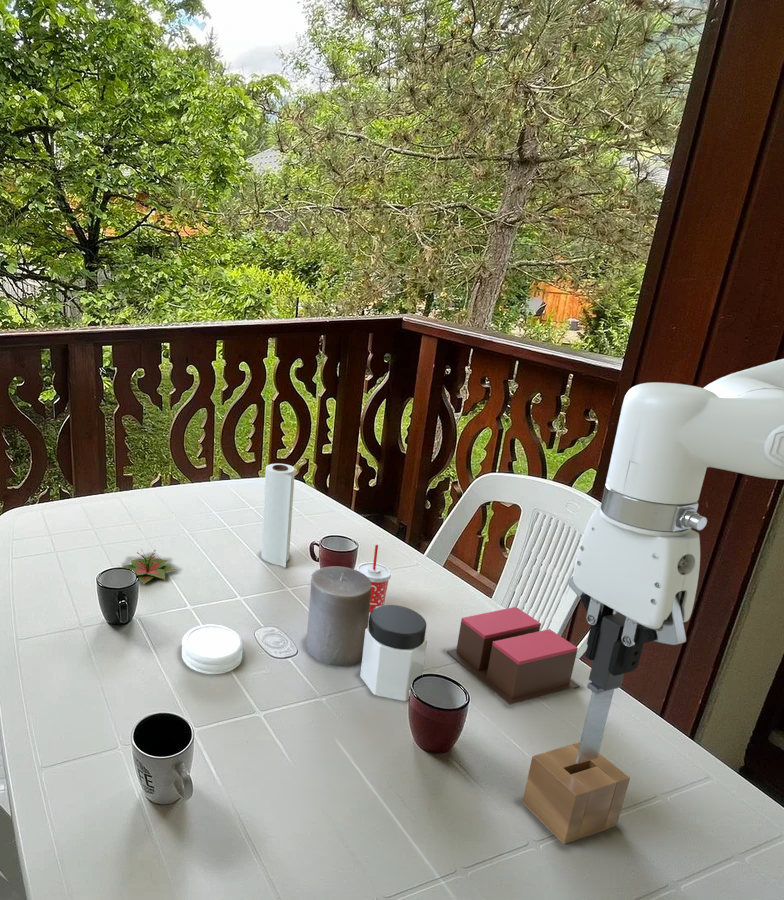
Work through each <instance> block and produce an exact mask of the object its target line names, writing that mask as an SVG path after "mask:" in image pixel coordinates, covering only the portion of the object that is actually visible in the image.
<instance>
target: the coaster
mask: <svg viewBox="0 0 784 900" xmlns="http://www.w3.org/2000/svg"><path fill="white" fill-rule="evenodd" d="M243 648H244V644H243V640H242V637H241V636H240V635H239V634H238V633H237V632H236V631H235V630H233V629H231V628H229V627H227V626H224V625H220V624H203V625H198V626H196V627H193V628H191V629H190V630H188V631H187V632H186V633H185V634H184V635H183V637H182V640H181V657H182V661H183V663H184V664H185V665H186V666H187V667H189V668H190V669H191V670H193V671H195V672H198V673H201V674H207V675H220V674H226V673H228V672H231V671H233V670H234V669H236V668H237V667H239V666H240V664H241V663H242V661H243V654H244V653H243V651H244V650H243Z"/></svg>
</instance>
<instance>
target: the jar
mask: <svg viewBox="0 0 784 900" xmlns="http://www.w3.org/2000/svg"><path fill="white" fill-rule="evenodd" d="M426 632H427V621H426V619H425V618H424V617H423V616H422V615H421V614H420V613H419V612H417V611H415V610H414V609H412V608H408V607H406V606H403V605H398V604H397V605H396V604H384V605H383V606H379V607H376V608H374V609H373V610H372V611H371V613H370V616H369V618H368V627H367V628H366V629H365V637H364V646H363V655H362V660H361V664H360V665H361V666H360V674H359V677H360V678H361V679H362V681H363V682H364V684H365V685H366V686H367V687H368V689H369V690H370V691H371V693H372V694H373V695H374V696H378V697H382V698H388V699H392V700H398V701H403V702H406V701H408V700H409V699H410V698H409V690H410V685H411V683H412V681H413V680H414V679H415V678H416V677H418V676H420V675H422V676H423V673H424V667H425V661H426V660H425V659H426V653H427V645H428V638H426Z"/></svg>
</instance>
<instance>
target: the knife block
mask: <svg viewBox="0 0 784 900" xmlns="http://www.w3.org/2000/svg"><path fill="white" fill-rule="evenodd" d="M579 746H580V741H578V742H575V743H571V744H569V745H565V746H561V747H559V748H555V749H552V750H549V751H545V752H542V753H538V754H535V755H532V757H531V761H530V766H529V770H528V775H527V779H526V784H525V787H524V788H525V789H524V792H523V797H522V804H523V805H524V806H525V807H526V808H527V809H528V810H529V811H530V812H531V813H532V814H533V815H534V816H535V817H536V818H537V819H538V820H539V822H541V824H543V825H544V826H545V827H546V828H547V829H548V830H549V831H550V832H551V833H552V834H553V835H554V836H555V837H556V838H557V839H558V840H559V842H561V843H562V845H566V844H569V843H571V842H575V841H578V840H580V839H584V838H586V837H589V836H592V835H595V834H598V833H601V832H603V831H606V830H608V829H611V828H614V827H617V826H618V823H619V819H620V815H621V811H622V809H623V805H624V801H625V797H626V793H627V790H628V787H629V783H630V781H631V778H630V777H629V776H628V775H627V774H625V772H623V771H622V770H621V769H620V768H618V767H617V766H616V765H615V764H613V763H612V762H611V761H610V760H608V759H607V758H606V757H604V755H602V754H601V753H600V752H599V754H598V758H595V759H592V760H589V761H586V762H583V763H580V764H577V763H576V759H577V754H578V750H579Z"/></svg>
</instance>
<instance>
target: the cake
mask: <svg viewBox="0 0 784 900" xmlns="http://www.w3.org/2000/svg"><path fill="white" fill-rule="evenodd" d="M460 620H461V621H460V626H459V632H458V638H457V644H456V648H455V649H454V648H453V649H449V650H446V653H447V654H448V655H449V656H450V657H452V658H453V660H455V661H456V662H458V664H460V665H461V666H462V667H463V668H464V669H466V671H468V672H469V673H470V674H471V675H472V676H474V677H475V678H476V679H478V680H479V682H481V683H482V684H483V686H485V687H486V688H488V689H489V690H491V692H492V693H494V694H496V695H497V696H499V698H501V699H502V701H504V702H505V703H507V704H508V705H513V704H514V705H515V704H517V703H522V702H525V701H530V700H534V699H537V698H541V697H544V696H548V695H552V694H556V693H560V692H564V691H569V690H571V689H574V690H575V689H579V688H580V687H581V686H580V685H579V684H578V683H577V682H575V680H572V675H573V671H574V666H575V663H576V658H577V653H578V651H579V647H577V646H576V645H574V644H573V643H571V641H568V640H567V639H565V638H564V637H563V636H560V635H559V634H558V633H556V632H555V631H553V630H552V629H550V628H548V629H544V630H541V625H542V623H541V622H539V621H538V619H537V620H536V619H535V618H534V617H532V616H531V615H529V614H528V613H526V612H525V611H524V610H522V609H520V608H519V607H517V606H513V607H508V608H503V609H497V610H494V611H488V612H484V613H479V614H473V615H469V616H464V617H461V619H460Z"/></svg>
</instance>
